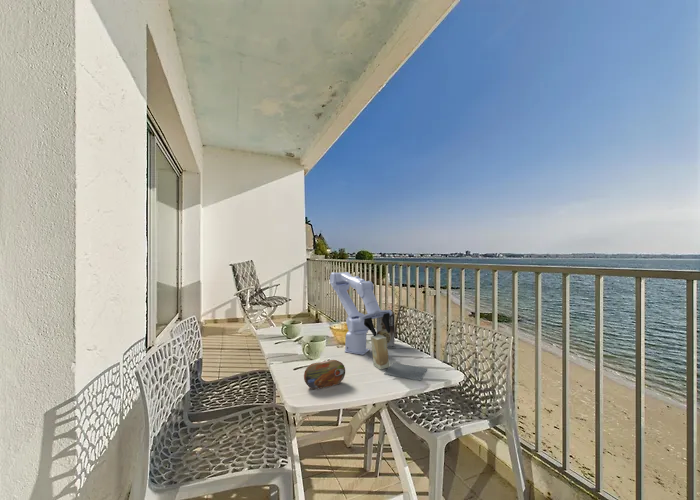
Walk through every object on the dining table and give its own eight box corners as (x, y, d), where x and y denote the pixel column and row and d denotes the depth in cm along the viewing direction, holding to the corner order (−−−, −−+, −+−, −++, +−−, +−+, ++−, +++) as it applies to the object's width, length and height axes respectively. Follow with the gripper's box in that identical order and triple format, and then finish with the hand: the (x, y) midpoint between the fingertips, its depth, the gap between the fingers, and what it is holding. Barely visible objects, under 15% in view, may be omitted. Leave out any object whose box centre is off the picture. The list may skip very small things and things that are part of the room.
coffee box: (394, 343, 163) (394, 311, 163) (394, 347, 157) (395, 314, 156) (376, 342, 164) (376, 311, 164) (375, 346, 158) (376, 313, 157)
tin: (305, 391, 107) (306, 366, 107) (302, 387, 110) (303, 363, 110) (345, 383, 114) (346, 359, 114) (341, 380, 117) (342, 357, 117)
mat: (384, 374, 122) (384, 373, 122) (393, 363, 134) (393, 362, 134) (420, 381, 117) (420, 380, 117) (426, 368, 129) (427, 368, 129)
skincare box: (373, 365, 132) (369, 336, 132) (382, 362, 133) (378, 333, 133) (380, 370, 126) (376, 339, 126) (390, 367, 127) (386, 336, 128)
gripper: (357, 303, 134) (367, 333, 126) (388, 297, 138) (400, 325, 131) (354, 311, 140) (364, 340, 132) (385, 305, 144) (396, 332, 136)
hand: (382, 333), depth 132 cm, fingers open, 6 cm apart
